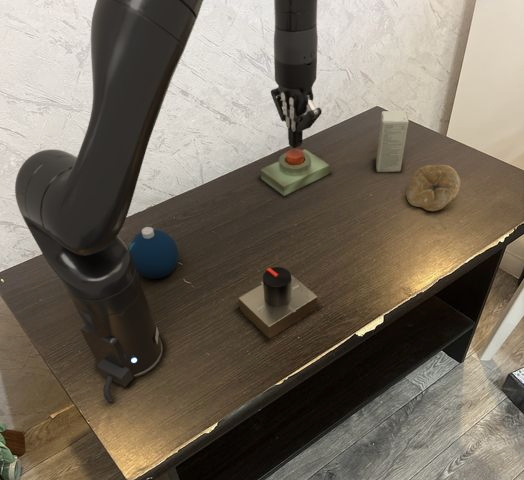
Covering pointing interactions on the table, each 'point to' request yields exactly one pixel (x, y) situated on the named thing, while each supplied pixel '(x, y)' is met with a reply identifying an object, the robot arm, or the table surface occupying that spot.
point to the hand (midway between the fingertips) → (295, 145)
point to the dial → (277, 286)
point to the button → (295, 157)
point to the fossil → (433, 187)
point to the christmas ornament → (154, 253)
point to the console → (277, 308)
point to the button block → (294, 173)
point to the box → (391, 141)
